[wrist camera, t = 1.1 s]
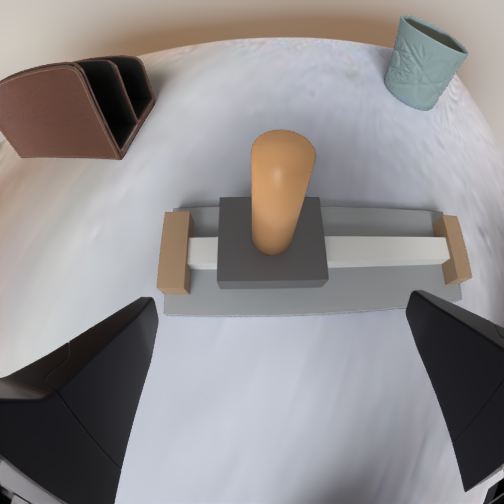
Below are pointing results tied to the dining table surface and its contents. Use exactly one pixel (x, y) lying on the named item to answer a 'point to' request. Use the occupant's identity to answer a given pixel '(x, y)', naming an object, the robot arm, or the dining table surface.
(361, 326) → the dining table surface
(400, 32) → the green planter pot
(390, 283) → the rail
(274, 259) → the carriage
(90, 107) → the letter holder
